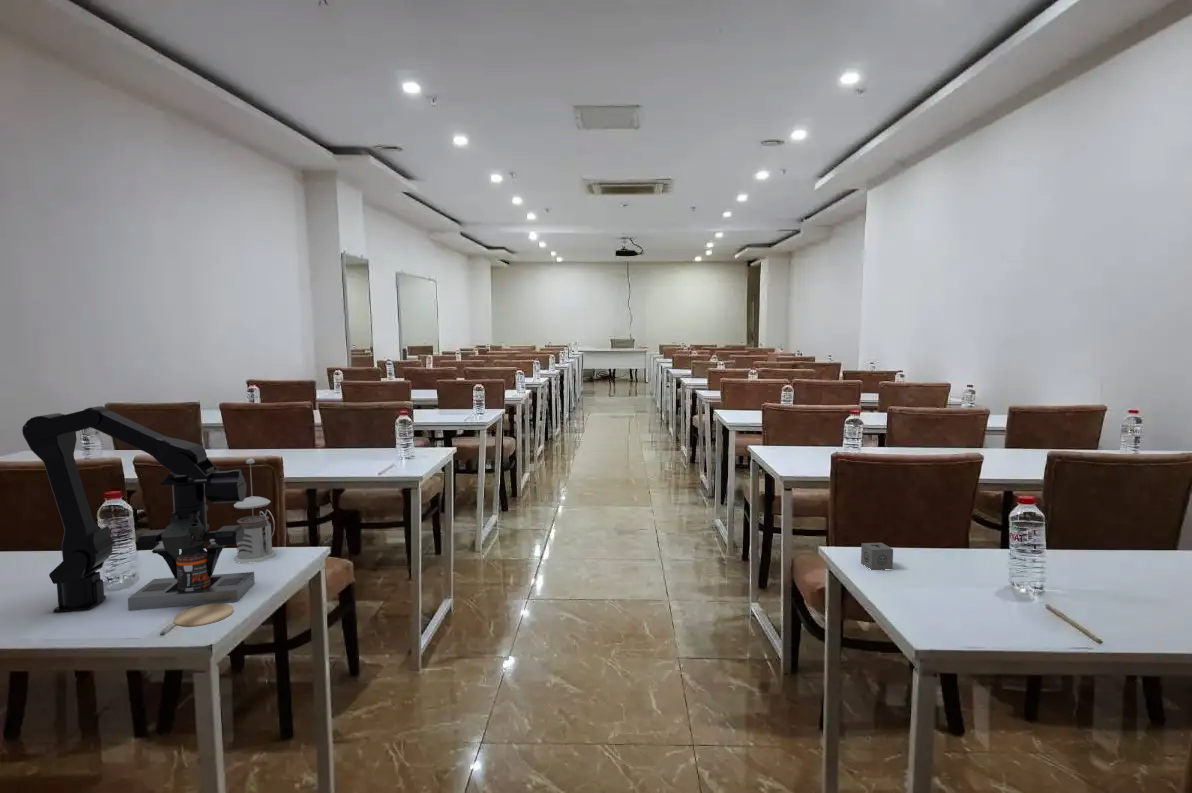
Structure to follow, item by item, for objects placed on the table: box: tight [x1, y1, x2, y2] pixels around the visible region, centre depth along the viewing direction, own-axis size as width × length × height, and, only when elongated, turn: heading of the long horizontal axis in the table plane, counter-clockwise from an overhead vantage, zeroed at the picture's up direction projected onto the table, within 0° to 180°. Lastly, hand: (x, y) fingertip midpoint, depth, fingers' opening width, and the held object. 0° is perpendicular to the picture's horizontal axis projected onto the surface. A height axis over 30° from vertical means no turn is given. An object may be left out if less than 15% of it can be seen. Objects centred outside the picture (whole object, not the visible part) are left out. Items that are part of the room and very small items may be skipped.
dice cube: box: [860, 542, 894, 571], centre depth 150 cm, size 5×5×5 cm
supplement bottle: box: [176, 541, 211, 592], centre depth 135 cm, size 6×6×11 cm
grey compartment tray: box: [127, 571, 256, 611], centre depth 136 cm, size 20×11×2 cm, turn 101°
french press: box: [233, 458, 277, 564], centre depth 160 cm, size 10×12×25 cm
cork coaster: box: [173, 603, 235, 627], centre depth 126 cm, size 10×10×1 cm
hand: (193, 577), depth 136 cm, fingers closed on supplement bottle, 6 cm apart
